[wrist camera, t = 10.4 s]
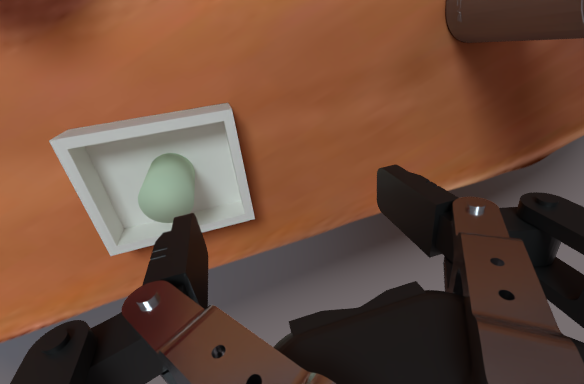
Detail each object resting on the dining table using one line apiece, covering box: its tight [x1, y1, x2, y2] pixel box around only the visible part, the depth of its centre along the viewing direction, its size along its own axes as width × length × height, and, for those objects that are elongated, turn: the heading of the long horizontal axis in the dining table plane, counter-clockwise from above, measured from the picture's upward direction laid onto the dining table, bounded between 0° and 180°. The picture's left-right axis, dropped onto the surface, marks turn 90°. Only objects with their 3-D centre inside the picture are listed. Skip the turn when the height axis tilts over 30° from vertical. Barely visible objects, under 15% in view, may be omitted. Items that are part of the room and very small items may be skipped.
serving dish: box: [49, 103, 255, 256], centre depth 31 cm, size 16×13×4 cm
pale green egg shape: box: [138, 153, 195, 223], centre depth 29 cm, size 5×5×7 cm
